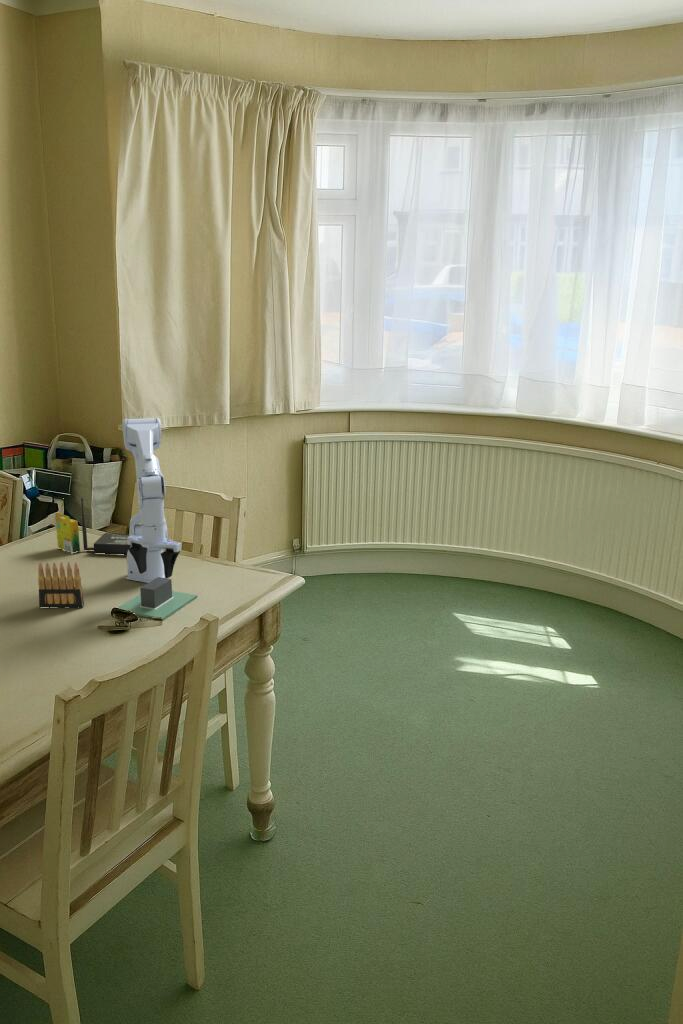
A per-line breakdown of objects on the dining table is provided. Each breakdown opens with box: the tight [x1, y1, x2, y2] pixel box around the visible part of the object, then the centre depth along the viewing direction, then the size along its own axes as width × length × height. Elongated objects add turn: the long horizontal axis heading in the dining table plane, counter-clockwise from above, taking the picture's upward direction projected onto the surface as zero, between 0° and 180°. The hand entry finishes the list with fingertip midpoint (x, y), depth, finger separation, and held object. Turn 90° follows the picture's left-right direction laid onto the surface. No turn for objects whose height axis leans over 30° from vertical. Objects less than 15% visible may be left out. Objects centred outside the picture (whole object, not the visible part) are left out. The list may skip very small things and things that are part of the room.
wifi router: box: [80, 497, 131, 555], centre depth 254 cm, size 20×14×17 cm
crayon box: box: [54, 512, 81, 552], centre depth 253 cm, size 7×3×12 cm, turn 52°
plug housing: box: [140, 577, 173, 609], centre depth 216 cm, size 4×8×5 cm, turn 159°
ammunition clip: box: [37, 562, 85, 609], centre depth 213 cm, size 11×2×12 cm, turn 93°
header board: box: [117, 590, 198, 621], centre depth 217 cm, size 14×16×3 cm
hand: (155, 574), depth 215 cm, fingers open, 7 cm apart
